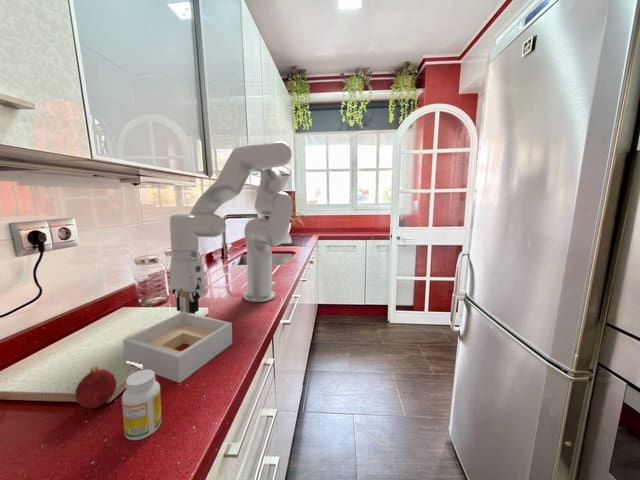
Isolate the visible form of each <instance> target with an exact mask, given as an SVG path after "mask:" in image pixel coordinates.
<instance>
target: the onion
mask: <svg viewBox="0 0 640 480" xmlns="http://www.w3.org/2000/svg"><path fill="white" fill-rule="evenodd" d="M116 388H117V380H116V377H115V375H114V374H113V372H111V371H109V370H107V369H99V367H98V366H96V365H94V366H92V367H91V368H90V372H89V373H87V374H86V375H85V376H84V377H83V378H82V379H80V381H79V383H78V384H77V386H76V388H75V400H76V402H77V404H79V405H80V406H82V407H83V408H88V409H97V408H100V407H101V406H102V405H104V404H105V403H107V402H108V401H109V400H110V399H111V398H112V397H113V395H114V393H115V391H116Z"/></svg>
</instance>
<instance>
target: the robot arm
mask: <svg viewBox="0 0 640 480" xmlns="http://www.w3.org/2000/svg"><path fill="white" fill-rule="evenodd" d="M291 158H292V149H291V147H290V146H289V144H288V143H286V142H285V141H282V140H279V141H271V142H264V143H260V144H250V145H243V146H238V147H236V148H234V149H232V151H231V153H230V154H229V155H228V158H227V159H226V162H225V164H224V166H223V167H222V169H221V171H220V173H219V175H218V176H217V177H216V180H215V181H214V182H213V184H211V185H210V186H209V187H208V188H207V190H205V191H204V192H203V194H201V195H200V197H199V198H198V199H197V201H195V204H194V205H193V206H192V209H191V211H190V213H189V214H186V213H185V214H184V213H183V214H182V213H178V214H173V215H171V216H170V218H169V229H170V230H169V231H170V232H169V234H170V250H171V251H170V252H171V260H170V265H169V267H170V268H169V284H168V288H169V289H170V290H171V291H172V293H173V295H174V298H175V299H176V301H175V302H176V311H177V312H180V299H179V295H180V294H179V290H180V287H179V286H180V285H181V286H182V289H181V290H183V291H185V292H189V297H190V302H189V313H192V314H193V313H195V314H196V312H198V311H199V307H200V306H199V300H200V299H201V297H202V296H203V295H205V294H206V293H207V290H206V288H205V286H206V279H205V271H204V265H203V261H202V259H201V258H200V256H201V253H200V252H199V251H200V250H199V247H200V246H199V243H200V242H199V238H217V237H220V236H222V234H224V232H225V231H226V229H227V224H226V221H225V219H224V218H223V217H222V216H220V215H219V214H216V211H217V210H218V209H219V208H220V207H222V205H224V204H226V203H227V202H228V201H229V202H230V201H231V200H233V199H234V198H236V197H238V196H239V195H240V194H241V192H242V190H243V188H244V186H245V184H246V182H247V180H248V177H249V176H250V174H251V173H252V172H259V173H260V180H259V181H260V182H259V185H258V190H257V194H256V197H255V201H254V210H255V212H256V213H258V214H259V215H262V216H265V217H268V218H263V217H262V218H261V217H255V218H252V219H249V220H248V221H247V222H246V224H245V226H244V238H245V239H244V240H245V244H246V257H247V258H246V265H247V266H246V271H247V272H246V274H247V275H246V276H247V277H246V281H247V283H246V284H247V285H246V288H247V289H246V290H247V291H245V292H244V293H243V294H242V298H243V299H244V300H246V301H247V302H250V303H264V302H265V303H266V302H269V301H271V300H273V299H274V298H275V297H276V292H275V291H274V290H273V287H275V286H276V285H277V283H276V281H273V280H272V279H273V278H272V277H273V276H272V275H273V274H272V272H273V271H272V270H273V269H272V268H273V267H272V266H273V265H272V264H273V253H272V248H271V247H272V246H273V247H276V246H279V245H280V246H281V244H283V243H284V241H286V237H287V235H288V231H289V227H290V223H291V218H292V216H293V215H292V214H293V210H294V209H293V208H294V205H293V200H292V197H291V196H290V195H289V194H288V193H286V192H284V191H282V188H283V187H282V186H283V177H282V173H281V171H280V170H279V167H283V166H286V165H288V164H289V162H290V161H291ZM193 293H194V295H195V296H194V295H193Z"/></svg>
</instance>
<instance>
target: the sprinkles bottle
mask: <svg viewBox="0 0 640 480" xmlns="http://www.w3.org/2000/svg"><path fill="white" fill-rule="evenodd" d="M179 287H180V290H179V294H180V295H179V299H180V311H179V312H180V313H182V312H188V313H189V302H190V297H189V292H185V291H183V290H181V289H182V286H181V285H180V286H179ZM193 295H194V296H195V293H193ZM180 313H179V314H180ZM193 314H196V312H195V313H193Z"/></svg>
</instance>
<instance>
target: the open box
mask: <svg viewBox="0 0 640 480" xmlns="http://www.w3.org/2000/svg"><path fill="white" fill-rule="evenodd" d="M122 341H123V351H124V352H123V353H124V361H125V360H126V361H130V362H135V363H138V364H142V365H143V370H146V369H148V370H152V371H154V373H155V376H156V375H157V376H159V377H163V378H165V379H167V380H171V381H173V382H177V383H178V384H180V383H182V382H183V381H185V380H186V379H188V378H189V377H190V376H191V375H192V374H194V373H196V371H198V370H199V369H200V368H202V367H203V366H204V365H205V364H207V363H208V362H209V361H211V360H213V359H214V358H215V357H216V356H217V355H219V354H220V353H222V352H223V351H224V350H226V349H227V348H229V346H231V345H232V344H233V322H230V321H225V320H221V319H217V318H212V317H208V316H204V315H200V314H196V313H195V314H192V313H188V312H182V313H178V314H175V315H173V316H171V317H169V318H166V319H164V320H162V321H160V322H159V323H156V324H154V325H151V326H149V327H148V328H147V327H146V328H144V329H143V330H141V331H139V332H137V333H134V334H132V335H130V336H128V337H126V338H124V339H123V340H122ZM183 344H185V345H187V346H188V345H189V346H188V347H186V348H185V349H183V350H182V351H180V350H177V349H176V348H178V347H180V346H181V345H183Z"/></svg>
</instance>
